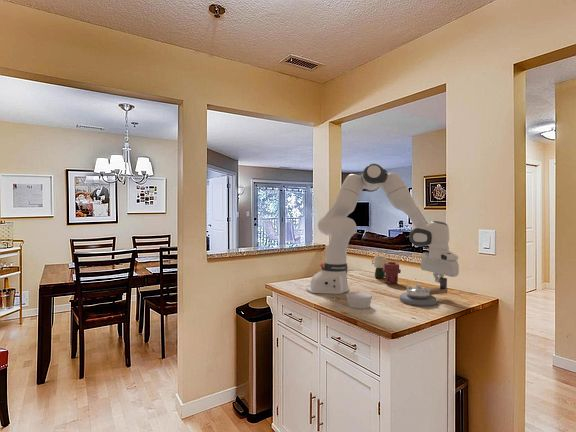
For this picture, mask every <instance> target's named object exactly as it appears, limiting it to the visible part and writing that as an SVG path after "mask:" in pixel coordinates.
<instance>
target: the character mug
mask: <svg viewBox="0 0 576 432" xmlns="http://www.w3.org/2000/svg"><path fill="white" fill-rule="evenodd" d="M388 262H390V261H389V260H387V257H386V256H380V255H379V256H378V255H377V256H374V257H373V258H372V259H371V265H373V267H374V268H375V271H374V277H375V278H378V279H383V278H385V273H384V272H383V268H384V263H388Z"/></svg>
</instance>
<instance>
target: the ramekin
mask: <svg viewBox="0 0 576 432" xmlns="http://www.w3.org/2000/svg"><path fill="white" fill-rule="evenodd" d="M345 296H346V298H347V299H346V301H347V306H348V307H349V308H351V309H354V308H356V309H355V310H366V308H367V309H369V308H370V307H371V303H372V299H373V295H372V294H371V293H369V292H364V291H348V292H346V295H345Z"/></svg>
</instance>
